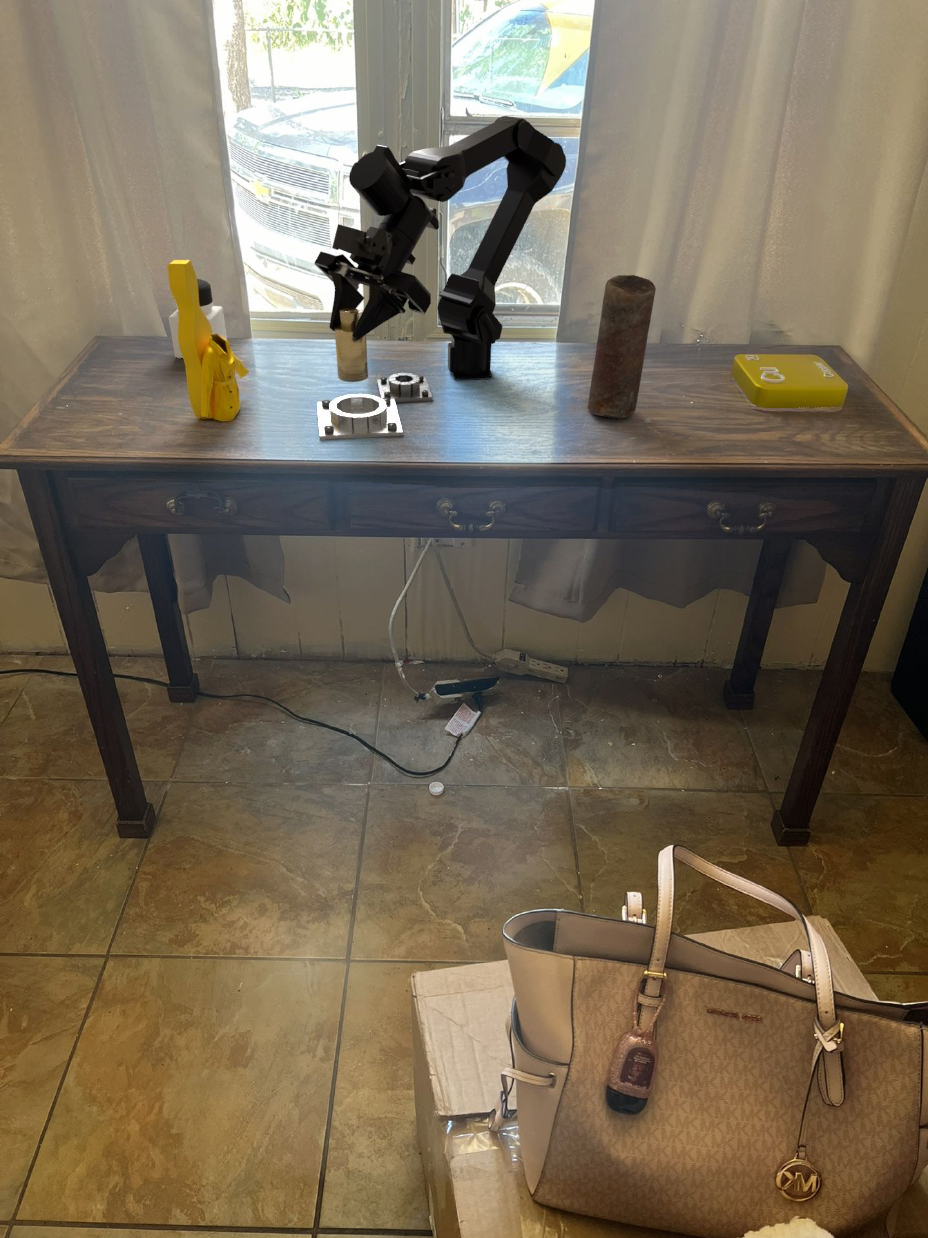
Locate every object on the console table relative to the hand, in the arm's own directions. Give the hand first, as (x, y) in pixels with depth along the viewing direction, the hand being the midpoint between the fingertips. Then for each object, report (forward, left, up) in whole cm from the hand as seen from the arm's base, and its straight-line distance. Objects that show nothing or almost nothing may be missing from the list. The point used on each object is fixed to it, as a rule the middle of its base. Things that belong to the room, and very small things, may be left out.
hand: (343, 333), depth 125 cm
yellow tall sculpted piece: (+19, -5, -14) cm, 24 cm away
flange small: (-10, -10, -13) cm, 19 cm away
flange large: (-2, 0, -13) cm, 13 cm away
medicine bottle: (+23, -31, -14) cm, 42 cm away
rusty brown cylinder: (-41, +2, -14) cm, 43 cm away
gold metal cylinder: (-1, -1, -7) cm, 7 cm away
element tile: (-72, -3, -14) cm, 73 cm away
